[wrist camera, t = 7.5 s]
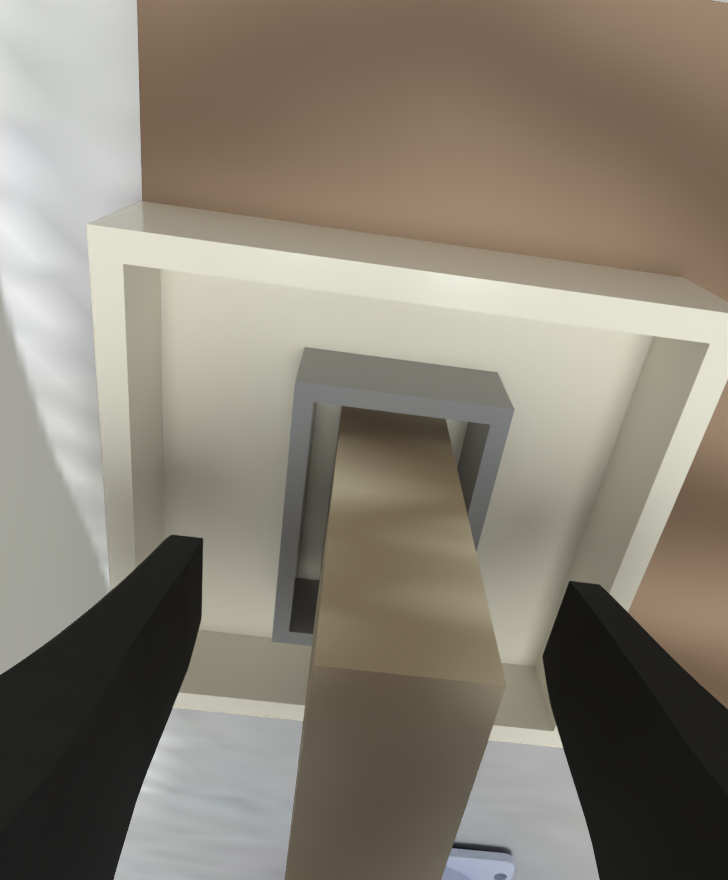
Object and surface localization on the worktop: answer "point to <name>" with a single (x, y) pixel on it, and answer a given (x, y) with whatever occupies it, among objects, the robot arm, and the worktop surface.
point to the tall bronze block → (393, 661)
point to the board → (476, 169)
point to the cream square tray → (393, 390)
